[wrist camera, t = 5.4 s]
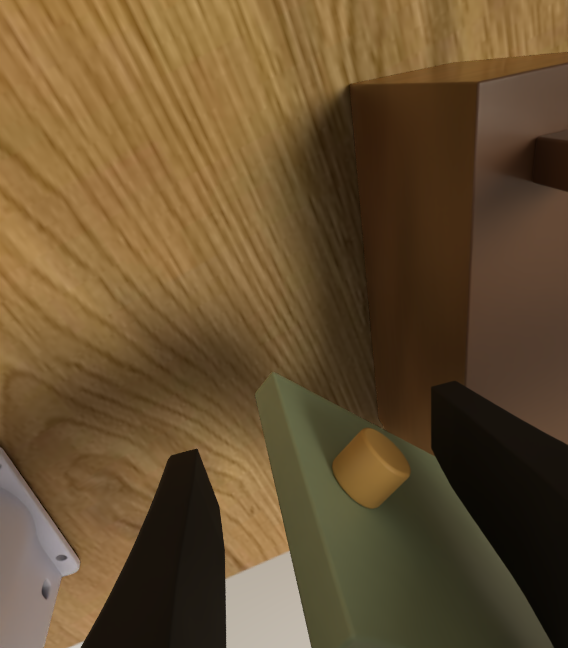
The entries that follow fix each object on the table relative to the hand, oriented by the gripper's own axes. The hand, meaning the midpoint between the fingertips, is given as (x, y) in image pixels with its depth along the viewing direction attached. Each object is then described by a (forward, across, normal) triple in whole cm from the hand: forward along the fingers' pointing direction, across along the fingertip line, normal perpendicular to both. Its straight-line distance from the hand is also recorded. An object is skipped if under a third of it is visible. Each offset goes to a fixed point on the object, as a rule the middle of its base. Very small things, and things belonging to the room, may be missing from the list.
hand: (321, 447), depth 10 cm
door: (+1, -3, +3) cm, 4 cm away
